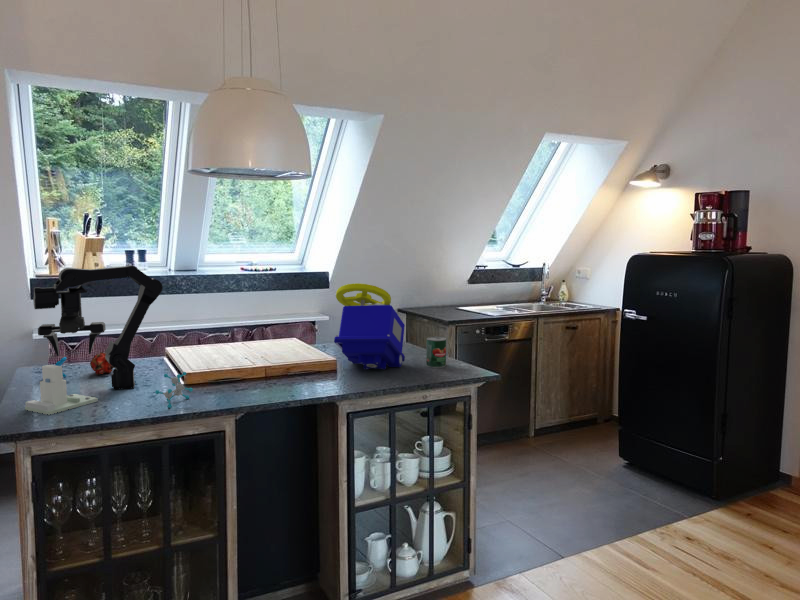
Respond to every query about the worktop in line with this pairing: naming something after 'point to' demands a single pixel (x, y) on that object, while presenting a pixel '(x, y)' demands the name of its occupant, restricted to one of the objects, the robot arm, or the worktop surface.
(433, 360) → the canned tomato
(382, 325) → the control box
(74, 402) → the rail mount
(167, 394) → the molecular model
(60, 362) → the blue green branched piece
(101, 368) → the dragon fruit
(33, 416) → the worktop surface
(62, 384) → the block
